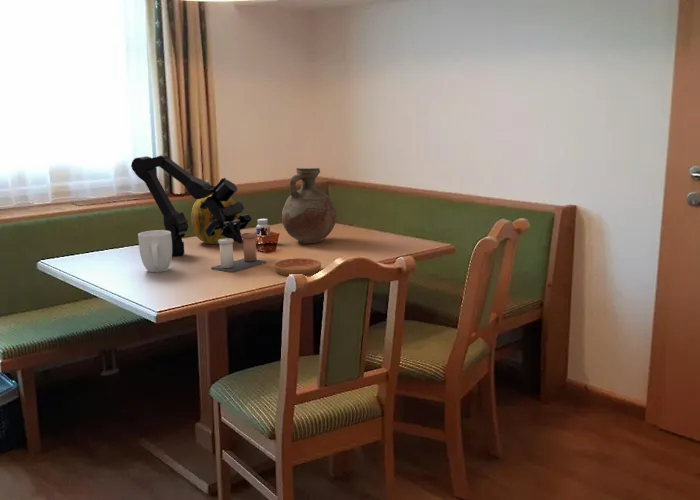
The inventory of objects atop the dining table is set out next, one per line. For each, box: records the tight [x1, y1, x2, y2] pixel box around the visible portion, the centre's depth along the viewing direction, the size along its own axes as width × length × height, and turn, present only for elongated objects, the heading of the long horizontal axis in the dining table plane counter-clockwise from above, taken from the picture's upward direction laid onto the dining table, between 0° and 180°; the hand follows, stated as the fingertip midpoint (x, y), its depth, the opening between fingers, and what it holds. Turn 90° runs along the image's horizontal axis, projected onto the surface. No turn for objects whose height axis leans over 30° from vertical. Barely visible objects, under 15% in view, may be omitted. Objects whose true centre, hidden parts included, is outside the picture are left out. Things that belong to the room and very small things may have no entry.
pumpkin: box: [191, 179, 240, 245], centre depth 295 cm, size 19×19×25 cm
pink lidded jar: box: [241, 232, 258, 262], centre depth 261 cm, size 5×5×9 cm
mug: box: [137, 229, 173, 273], centre depth 251 cm, size 15×11×13 cm
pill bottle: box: [255, 218, 271, 234], centre depth 294 cm, size 5×5×10 cm
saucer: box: [273, 257, 322, 276], centre depth 248 cm, size 16×16×3 cm
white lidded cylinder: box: [218, 238, 235, 268], centre depth 252 cm, size 5×5×9 cm
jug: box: [281, 167, 337, 245], centre depth 292 cm, size 22×22×30 cm
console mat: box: [210, 257, 267, 273], centre depth 258 cm, size 10×17×1 cm, turn 144°
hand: (241, 243), depth 263 cm, fingers closed
